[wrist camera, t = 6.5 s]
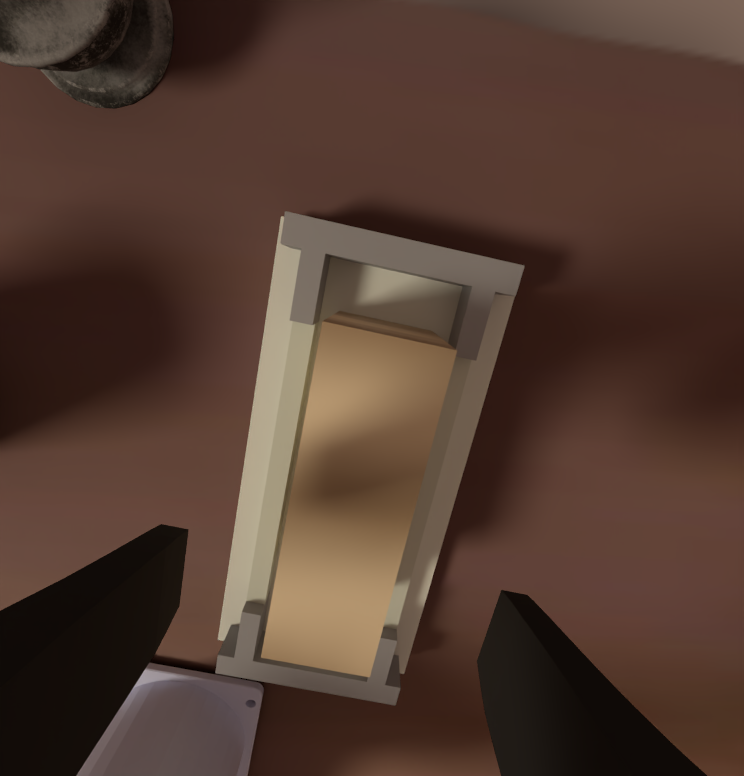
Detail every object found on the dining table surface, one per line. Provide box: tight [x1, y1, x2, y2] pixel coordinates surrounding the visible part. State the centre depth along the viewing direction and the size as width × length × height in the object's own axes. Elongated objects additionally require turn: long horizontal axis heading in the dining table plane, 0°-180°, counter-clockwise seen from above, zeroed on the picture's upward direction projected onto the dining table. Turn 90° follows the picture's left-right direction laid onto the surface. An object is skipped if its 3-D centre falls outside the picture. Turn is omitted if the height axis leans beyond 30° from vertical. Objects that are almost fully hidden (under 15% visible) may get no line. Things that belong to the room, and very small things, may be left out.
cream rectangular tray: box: [215, 211, 524, 706], centre depth 17 cm, size 19×9×3 cm, turn 168°
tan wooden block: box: [261, 311, 457, 677], centre depth 14 cm, size 11×4×5 cm, turn 168°
